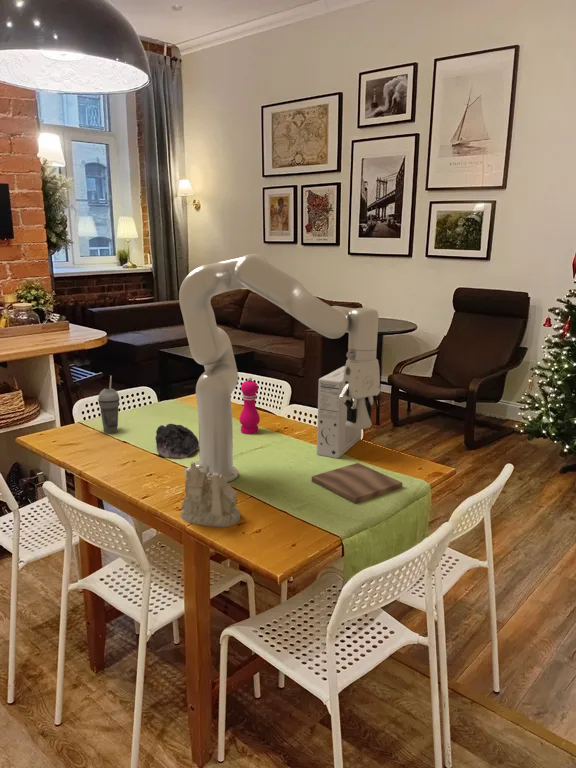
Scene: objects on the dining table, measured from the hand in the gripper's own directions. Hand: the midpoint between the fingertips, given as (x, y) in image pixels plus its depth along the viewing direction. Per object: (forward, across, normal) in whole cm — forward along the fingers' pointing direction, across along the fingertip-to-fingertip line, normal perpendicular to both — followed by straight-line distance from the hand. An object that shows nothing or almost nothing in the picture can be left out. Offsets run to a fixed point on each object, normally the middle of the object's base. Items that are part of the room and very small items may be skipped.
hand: (358, 419), depth 164 cm
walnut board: (+19, 0, 0) cm, 19 cm away
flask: (+2, 0, 0) cm, 2 cm away
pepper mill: (+20, +1, +56) cm, 59 cm away
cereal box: (+19, +17, +26) cm, 37 cm away
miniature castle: (+20, -41, +8) cm, 46 cm away
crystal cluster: (+20, -29, +52) cm, 63 cm away
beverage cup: (+20, -39, +84) cm, 94 cm away
